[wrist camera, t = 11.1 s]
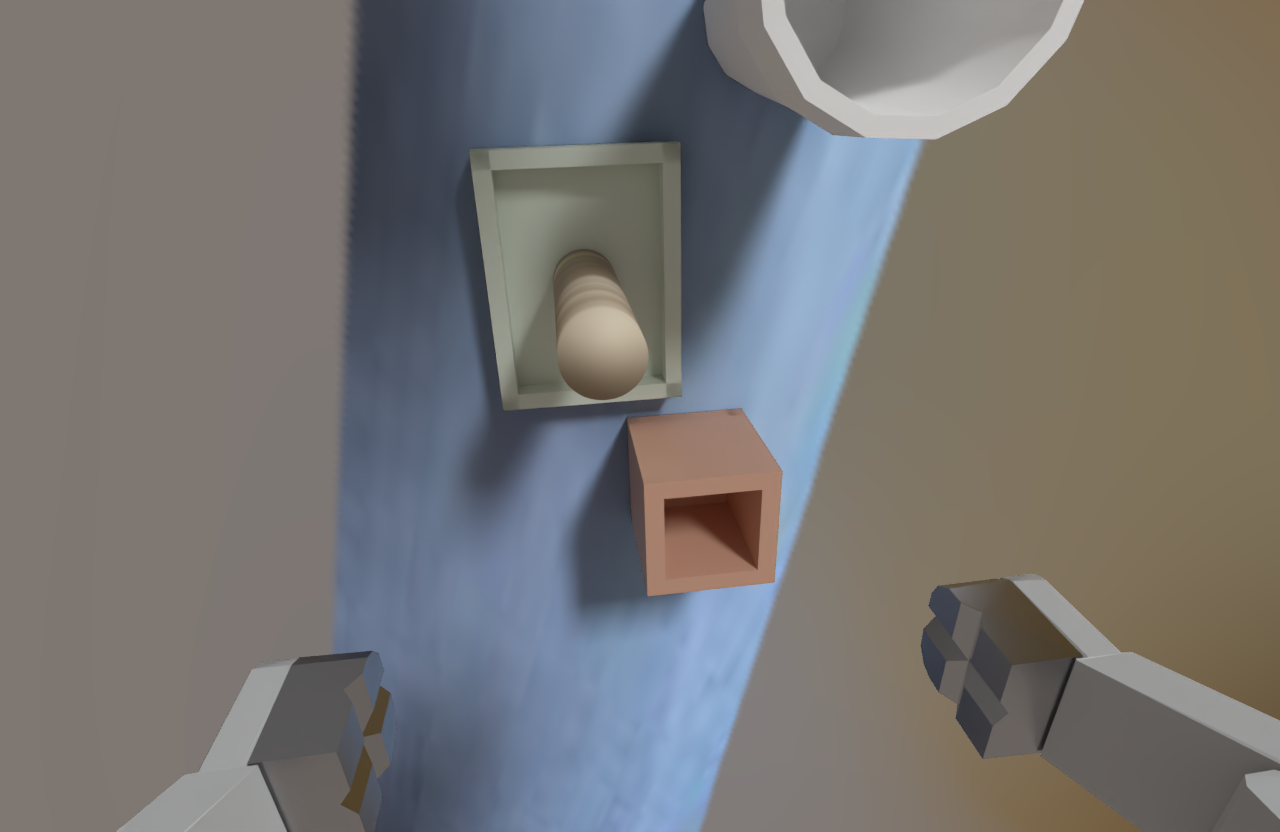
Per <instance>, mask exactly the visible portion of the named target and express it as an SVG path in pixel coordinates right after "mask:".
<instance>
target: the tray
mask: <svg viewBox="0 0 1280 832" xmlns="http://www.w3.org/2000/svg"><path fill="white" fill-rule="evenodd" d="M469 156H470V163H471V171H472V178H473V186H474V193H475V201H476V208H477V216H478V223H479V231H480V239H481V246H482V254H483V261H484V269H485V276H486V284H487V291H488V299H489V306H490V314H491V321H492V329H493V336H494V344H495V351H496V359H497V367H498V374H499V382H500V389H501V397H502V404H503V411H509V410H521V409H534V408H546V407H559V406H571V405H584V404H596V403H609V402H621V401H634V400H646V399H659V398H671V397H682V361H681V142H677V141H655V142H629V143H604V144H578V145H553V146H527V147H501V148H476V149H471V150H469ZM580 249H589V250H593V251H596V252H598V253H600V254H602V255H603V256H604V257H606V259H607V260H608V261H609V262H610V263H611V265H612V267H613V269H614V271H615V274H616V276H617V278H618V280H619V283H620V285H621V287H622V289H623V292H624V294H625V296H626V298H627V300H628V303H629V305H630V307H631V309H632V312H633V314H634V316H635V318H636V321H637V323H638V325H639V327H640V330H641V332H642V334H643V336H644V338H645V341H646V344H647V347H648V355H649V357H648V365H647V369H646V372H645V374H644V376H643V378H642V379H641V381H640V382H639V383H638V384H637V386H636V387H635V388H633V389H632V390H631V391H630V392H628V393H627V394H625V395H623V396H621V397H618V398H615V399H610V400H594V399H589V398H586V397H583V396H581V395H580V394H578V393H576V392H575V391H573V390H572V389H571V388H570V387H569V386H568V385H567V384H566V382H565V381H564V379H563V378H562V375H561V373H560V370H559V366H558V357H557V340H556V322H555V305H554V288H553V275H554V271H555V268H556V266H557V264H558V263H559V261H560V260H561V259H562V258H563V257H564V256H565V255H567V254H568V253H570V252H572V251H575V250H580Z"/></svg>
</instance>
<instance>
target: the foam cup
mask: <svg viewBox="0 0 1280 832" xmlns="http://www.w3.org/2000/svg"><path fill="white" fill-rule="evenodd" d="M1083 2H1084V0H705V2H704V6H703V11H704V18H705V26H706V33H707V41H708V46H709V47H710V49H711V51H712V52H713V54H714V56H715V57H716V59H717V61H718V62H719V64H720V66H721V67H722V69H723V71H724V72H725V74H726V75H728V76H729V77H731V78H732V79H734V80H736V81H737V82H739V83H740V84H742V85H744V86H745V87H747V88H749V89H750V90H752V91H754V92H755V93H757V94H760V95H762V96H764V97H766V98H769V99H771V100H773V101H775V102H777V103H780V104H782V105H784V106H786V107H788V108H790V109H792V110H793V111H795V112H797V113H798V114H800V115H801V116H803V117H805V118H806V119H808V120H809V121H811V122H813V123H814V124H816V125H817V126H819V127H821V128H822V129H824V130H826V131H827V132H829V133H830V134H832V135H839V136H852V137H865V138H905V139H938V138H940V137H942V136H944V135H946V134H948V133H950V132H952V131H954V130H956V129H958V128H961V127H963V126H965V125H967V124H969V123H971V122H973V121H975V120H977V119H979V118H981V117H983V116H985V115H987V114H990V113H992V112H994V111H996V110H998V109H1000V108H1002V107H1004V106H1006V105H1007V104H1008V103H1009V102H1010V101H1011V100H1012V99H1013V98H1014V96H1015V95H1016V94H1017V93H1018V92H1019V91H1020V90H1021V89H1022V88H1023V87H1024V86H1025V85H1026V83H1027V82H1028V81H1029V80H1030V79H1031V78H1032V77H1033V76H1034V75H1035V74H1036V73H1037V71H1038V70H1039V69H1040V68H1041V67H1042V66H1043V65H1044V64H1045V63H1046V62H1047V61H1048V59H1049V58H1050V57H1051V56H1052V55H1053V54H1054V53H1055V52H1056V51H1057V50H1058V49H1059V47H1060V46H1061V45H1062V44H1063V43H1064V42H1065V41H1066V40H1067V38H1068V35H1069V33H1070V31H1071V29H1072V26H1073V24H1074V22H1075V20H1076V17H1077V15H1078V13H1079V11H1080V9H1081V6H1082V4H1083Z"/></svg>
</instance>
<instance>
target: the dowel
mask: <svg viewBox="0 0 1280 832" xmlns="http://www.w3.org/2000/svg"><path fill="white" fill-rule="evenodd" d="M553 288H554V305H555V322H556V340H557V357H558V366H559V370H560V373H561V375H562V378H563V379H564V381H565V382H566V384H567V385H568V386H569V387H570V388H571V389H572V390H573V391H575V392H576V393H578V394H580V395H581V396H583V397H586V398H589V399H594V400H610V399H615V398H618V397H621V396H623V395H625V394H627V393H628V392H630V391H631V390H632V389H633V388H635V387H636V386H637V384H638V383H639V382H640V381H641V379H642V378H643V376H644V374H645V372H646V369H647V365H648V357H649V355H648V347H647V344H646V341H645V338H644V336H643V334H642V332H641V330H640V327H639V325H638V323H637V321H636V318H635V316H634V314H633V312H632V309H631V307H630V305H629V303H628V300H627V298H626V296H625V294H624V292H623V289H622V287H621V285H620V283H619V280H618V278H617V276H616V274H615V271H614V269H613V267H612V265H611V263H610V262H609V261H608V260H607V259H606V257H604V256H603V255H602V254H600V253H598V252H596V251H593V250H589V249H580V250H575V251H572V252H570V253H568V254H567V255H565V256H564V257H563V258H562V259H561V260H560V261H559V263H558V264H557V266H556V268H555V271H554V275H553Z"/></svg>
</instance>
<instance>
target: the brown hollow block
mask: <svg viewBox="0 0 1280 832" xmlns="http://www.w3.org/2000/svg"><path fill="white" fill-rule="evenodd" d="M627 435H628V458H629V481H630V504H631V519H632V524H633V528H634V533H635V538H636V543H637V548H638V553H639V558H640V562H641V567H642V572H643V577H644V582H645V587H646V592H647V596H657V595H666V594H674V593H683V592H692V591H701V590H710V589H719V588H728V587H737V586H746V585H755V584H764V583H773V582H775V569H776V555H777V541H778V527H779V513H780V500H781V486H782V472H783V471H782V469H781V468H780V466H779V465H778V463H777V462H776V460H775V459H774V457H773V456H772V454H771V453H770V451H769V450H768V448H767V447H766V445H765V443H764V442H763V440H762V439H761V437H760V436H759V434H758V433H757V431H756V430H755V428H754V427H753V425H752V424H751V422H750V421H749V419H748V418H747V416H746V415H745V413H744V412H743V410H742V408H741V409H729V410H717V411H705V412H692V413H680V414H668V415H656V416H644V417H632V418H627Z"/></svg>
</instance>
